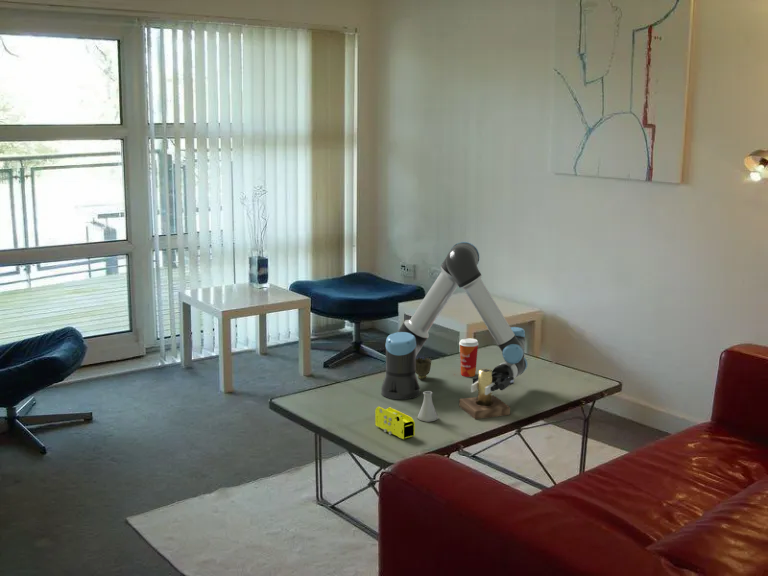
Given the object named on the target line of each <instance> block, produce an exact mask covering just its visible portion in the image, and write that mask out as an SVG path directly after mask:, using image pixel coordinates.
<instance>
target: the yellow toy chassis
mask: <svg viewBox="0 0 768 576" xmlns="http://www.w3.org/2000/svg"><path fill="white" fill-rule="evenodd" d="M374 412H375V413H374V416H375V417H374V421H375V426H376V427H378V428H380V430H382V431H383V432H384V433H388V434H389V435H394V436H396V437H398V439H402V440H407V439H410V438H412V437H415V436H416V433H415V432H416V425H415V424H416V422H415V420H414V419H413V417H412V416H410V415H407V414H405V413H403V412H401V411H399V410H397V409H395V408H392V407H390V406H389V407H387V408H383V407H381V406H377V407H376V408H375V411H374Z"/></svg>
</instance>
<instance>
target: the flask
mask: <svg viewBox="0 0 768 576" xmlns="http://www.w3.org/2000/svg"><path fill="white" fill-rule="evenodd" d="M433 393H434V392H432V391H431V390H426V391H423V392H422V394H423V400H422V404H421V408H420V409H419V412H418V415H417V419H418V420H420V421H421V422H425V423H426V422H428V423H429V422H430V423H431V422H434V421H437V420H438V419H439V417H438V413H437V410H436V408H435V406H434V402H433V398H432V397H433Z"/></svg>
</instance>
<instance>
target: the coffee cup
mask: <svg viewBox="0 0 768 576" xmlns="http://www.w3.org/2000/svg"><path fill="white" fill-rule="evenodd" d="M458 345H459V354H460V356H459V357H460V375H461V376H462V377H463V378H464V377H465V378H472V377H473V378H474V377H476V373H477V371H476V370H477V359H478V351H479V349H478V346H479V345H480V343H479V342H478V340H477V339H476V338H470V337H469V338H463V339H462V338H461V339H460V341H459V342H458Z"/></svg>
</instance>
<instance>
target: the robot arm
mask: <svg viewBox="0 0 768 576" xmlns="http://www.w3.org/2000/svg"><path fill="white" fill-rule="evenodd" d="M479 261H480V253H479V250H478V248H477V246H475V244H473V243H471V242H469V241H461V242H458V243H456V244H453V246H452V247H451V248H450V250H449V251H448V253H447V255H446V257H445V259H443V261H442V263H441V265H440V270H441V271H440V273H439V274H438V276H437V278H436V280H435V281H434V282H433V283H432V285H431V287H430V289H429V290H428V291H427V293H426V294H425V296H424V298H423V299H422V301H421V302H420V303H419V305H418V307H417V308H416V309H415V311H414V313H413V314H412V316H411V318H409V319H405V320H404V321H403V322H402V325H401V326H400V327H399V329H398V330H397V332H393V333H391V334H389V335H388V336H387V337H386V340H385V376H384V379H383V383H382V384H381V385H382V386H381V392H380V394H381V395H382V396H383V397H384V398H387V399H392V400H409V399H413V398H414V399H415V398H417V397H418V396H419V395H421V394H420V393H421V391H420V390H421V389H420V388H421V387H420V385H419V380H418V379H417V378H418V377H417V374H416V372H415V369H416V358H417V356H418V354H419V352H420V351H421V349H423V346H424V345H425V344H426V342H427V340H428V339H429V337H430V335H429V331H430V329H431V327H432V326H433V325H434V323H435V321H436V320H437V318H438V317H439V315H440V314H441V312H442V311H443V309H444V308H445V307H446V305H447V303H448V301H449V300H451V297H452V296H453V294H454V292H455V291H456V290H457V288H458V287H459V289H461V290H463V291H464V292H465V294H466V296H467V297H468V299H469V300H470V302H471V304H472V305H473V307H474V309H475V310H476V312H477V313H478V315H479V316H480V318H481V320H482V321H483V323H484V324H485V326H486V328H487V330H488V331H489V333H490V335H491V336H492V338H493V339H494V341H495V343H496V344H497V346H498V347H499V349H500V351H501V354H502V358H503V360H504V361H503V362H501V363H500V364H498V365H496V366H495V367H494V368H493V369H492V384H490V385H488V386H487V387H485V395H488V394H489V393H491V392H495V391H498V390H500V391H503V390H505V389H507V388H508V387H509V386H511V385H515V384H514V382H515V378H516V377H518V376H521V375H522V374H523V373H524V372H525V371H526V370H527V368H528V360H527V359H526V357H525V345H526V342H525V340H526V334H525V332H526V331H525V329H524V328H523V327H517V326H516V327H515V326H513V327H512V326H510V324H509V323H508V321H507V319H506V318H505V316H504V315H503V313H502V312H501V309H500V308H499V306H498V305H497V303H496V301H495V300H494V298H493V297H492V295H491V293H490V292H489V290H488V288H487V287H486V284H485V283H484V282H483V280H482V273H481V271H480V270H479V268H478V267H479V266H478V264H479ZM476 391H478V375H475V376H474V377H473V378H472V384H470V393H474V392H476Z"/></svg>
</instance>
